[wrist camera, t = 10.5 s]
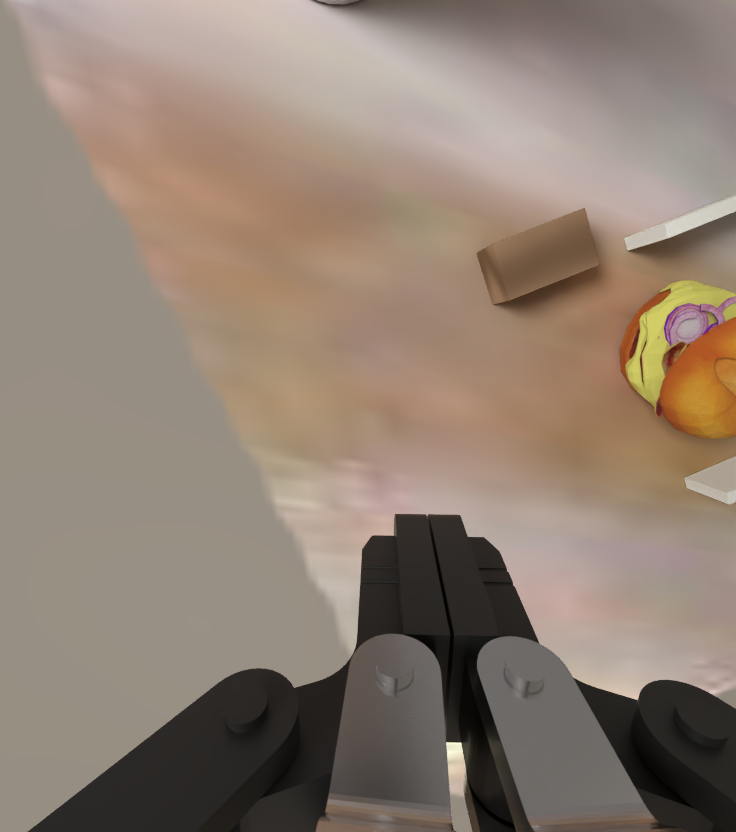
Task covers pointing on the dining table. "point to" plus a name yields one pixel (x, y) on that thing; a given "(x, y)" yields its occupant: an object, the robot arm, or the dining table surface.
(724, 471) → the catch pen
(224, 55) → the dining table surface
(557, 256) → the cardboard carton
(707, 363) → the cheeseburger
